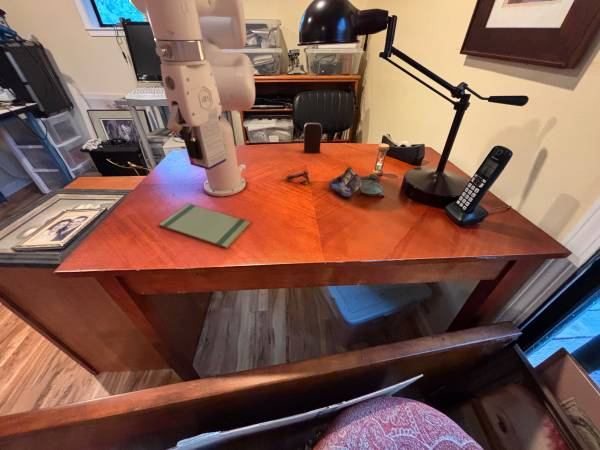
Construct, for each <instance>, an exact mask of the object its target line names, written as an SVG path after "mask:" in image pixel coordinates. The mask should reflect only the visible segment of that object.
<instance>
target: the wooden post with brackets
mask: <svg viewBox="0 0 600 450" xmlns="http://www.w3.org/2000/svg"><path fill="white" fill-rule="evenodd" d="M309 174H310V172H309V171H307V170H303V172H299V173H296V174H292V175H291V174H290V173H289V174H287V175H286V176H285V178H286V180H287V182H290V181H291V180H293V179H298V178H301V177H303V178H304V179H302V180H300V181H299V184H301V185H302V184H306V183H307V184H308V185H311V179H310V177H309V176H308V175H309Z"/></svg>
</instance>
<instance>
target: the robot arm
mask: <svg viewBox="0 0 600 450" xmlns="http://www.w3.org/2000/svg"><path fill="white" fill-rule="evenodd" d="M129 2H130V4H131V5H132V6H133V7H134V9H136V10H137V12H140V13H141V14H143V15H147V17H148V21H149V25H150V28H151V31H152V35H153V38H154V42H155V45H156V46H155V53H156V55H157V56H158V57H159V58H160V62H161V64H160V71H161V79H162V85H163V90H164V94H165V99H166V102H167V106H168V109H169V112H170V113H169V114H170V115H169V118H168V121H167V124H166V128H167V130H169V131H170V132H172V133H173V134H175V136H177V137H179V138H180V140H182V141H183V142H184V145H185V148H186V152H187V156H188V155H189V156H188V158H189V157H190V158H193V159H198V160H201V159H203V155H202V151H201V147H200V143H199V140H196V128H195V127H199V126H201V125H202V124H204V123H206V122H208V114H209V111H210V110H211V109H213V108H217V113H218V118H219V123H220V129H221V134H222V140H223V145H224V150H225V156H226V161H225V162H223V163H221V164H219V165H217V166H216V167H214V168H212V169H210V170H208V169H204V171H205V175H206V179H207V180H205V182H204V184H203V190H204V192H205V193H207V194H208V195H211V196H213V197H214V196H215V197H227V196H232V195H233V196H234V195H235V194H238V193H240V192H241V191H243V190H244V189H245V187H246V185H247V184H246V180H245V178H244V177H243V176H242V175H241V174H242V173H243V172H244V171H246V170H247V166H246V165H245V164H244V163H242V164H240V165H238V164H239V163H238V159H237V151H236V143H235V139H234V133H233V128H232V125H231V124H230V122H229V121H228V119H227V118H226V117H225V116H224V115H223V114H222V113H223V112H228V111H229V112H235V111H236V112H237V111H238V112H240V111H248V110H251V109H252V108H253V106H254V104H255V101H256V85H255V75H254V68H253V64H252V61H251V59H250V57H249V56H248V54H245V53H244V52H239V51H222V50H242V49H243V48H245V47H246V44H247V41H248V39H247V38H248V37H247V26H246V19H245V18H246V17H245V11H244V10H245V9H244V3H243V2H244V1H243V0H129ZM187 127H190V133H188V132H187Z"/></svg>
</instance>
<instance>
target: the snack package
mask: <svg viewBox="0 0 600 450" xmlns="http://www.w3.org/2000/svg"><path fill="white" fill-rule="evenodd" d="M361 181H362V178H361V177H360V176H359V174H358V173H356V172H354V170H353V168H352V167H351V166H348V167H347V168H346V169H345V171H344V172H343V173H342V174H340V175H338V176H337V177H335V178H333V179H332V180H331V181H329V182H328V188H329V189H333V190H335V191H336V192H337V194H338V195H339V196H341V197H343V198H346V199H349V200H350V199H352V197H353V195H354V194H355V192H357V191H358V190H360V189H359V187H362V184H363V181H362V182H361Z"/></svg>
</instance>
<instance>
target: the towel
mask: <svg viewBox="0 0 600 450" xmlns="http://www.w3.org/2000/svg"><path fill="white" fill-rule="evenodd" d="M250 224H251V221H249V220H246V219H243V218H238V217H235V216H232V215H229V214H225V213H222V212H218V211H214V210H211V209H207V208H204V207H201V206H197V205H195V204H190V203H186V204H185V205H184V206H182V207H181V208H179V209H178V210H176V211H175V212H174V213H172V214H171V215H170V216H168V217H166V218H165V219H164V220H163V221H161V222H160V223H158V226H159V227H161V228H164V229H167V230H171V231H173V232H176V233H178V234H179V233H180V234H181V235H185V236H188V237H190V238H194V239H197V240H200V241H203V242H205V243H209V244H212V245H215V246H218V247H221V248H224V249H228V248H229V247H230V245H231V244H232V243H233V242H234V241H235V240H236V239H237V238H238V237H239V236H240V235H241V234H242V233H243V232H244V230H245V229H247V227H248V226H249V225H250Z"/></svg>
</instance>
